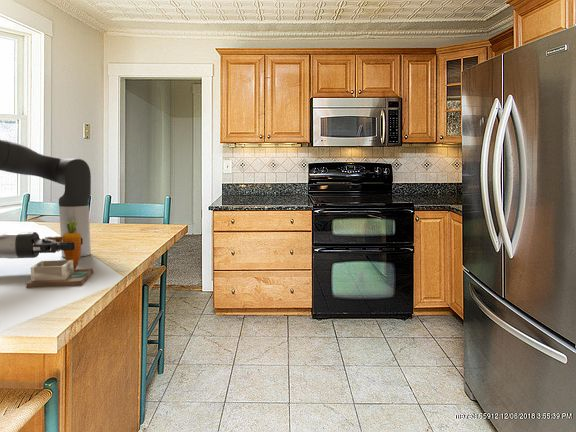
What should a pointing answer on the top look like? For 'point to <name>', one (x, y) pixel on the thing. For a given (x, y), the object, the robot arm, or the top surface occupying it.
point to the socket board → (57, 274)
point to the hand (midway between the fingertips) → (78, 243)
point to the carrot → (75, 238)
